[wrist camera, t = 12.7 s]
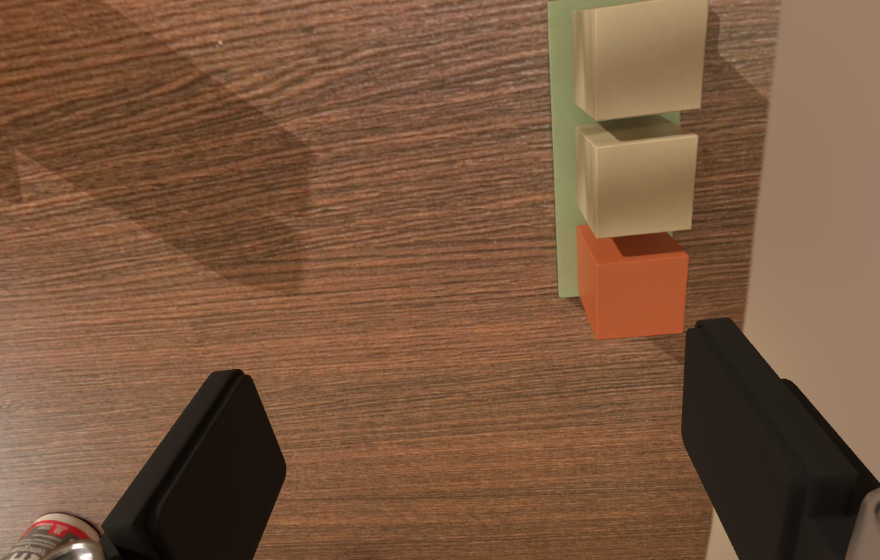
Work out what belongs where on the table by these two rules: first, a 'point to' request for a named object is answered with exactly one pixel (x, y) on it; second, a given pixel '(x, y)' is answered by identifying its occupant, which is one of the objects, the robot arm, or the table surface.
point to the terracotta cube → (632, 283)
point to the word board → (623, 118)
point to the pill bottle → (50, 536)
